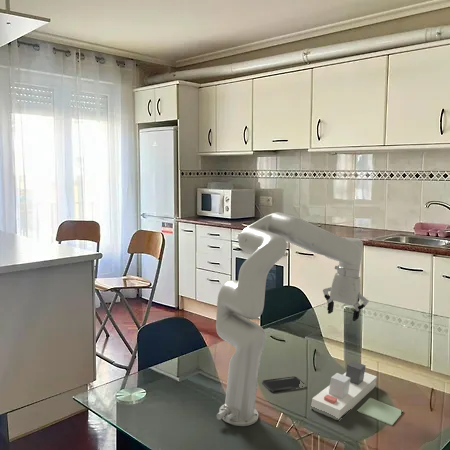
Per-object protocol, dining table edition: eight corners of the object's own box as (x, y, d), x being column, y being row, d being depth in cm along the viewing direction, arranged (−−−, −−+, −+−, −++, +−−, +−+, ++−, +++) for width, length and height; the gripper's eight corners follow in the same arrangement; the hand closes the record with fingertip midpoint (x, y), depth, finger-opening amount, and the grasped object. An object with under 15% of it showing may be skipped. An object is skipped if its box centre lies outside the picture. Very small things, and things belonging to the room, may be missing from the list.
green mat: (391, 425, 164) (392, 424, 164) (357, 411, 171) (357, 410, 171) (403, 412, 174) (403, 410, 174) (369, 398, 181) (370, 397, 181)
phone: (261, 380, 184) (295, 376, 191) (260, 383, 184) (295, 378, 191) (271, 391, 177) (307, 386, 184) (271, 394, 177) (306, 388, 184)
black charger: (357, 389, 182) (360, 369, 180) (344, 384, 184) (347, 364, 183) (362, 385, 186) (365, 365, 184) (349, 380, 188) (352, 360, 187)
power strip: (338, 421, 163) (340, 407, 162) (310, 409, 169) (312, 395, 168) (375, 386, 191) (377, 374, 190) (350, 376, 196) (352, 365, 195)
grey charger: (341, 403, 170) (344, 382, 169) (327, 398, 173) (330, 377, 172) (347, 398, 174) (350, 377, 173) (334, 393, 177) (337, 372, 176)
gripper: (322, 268, 184) (316, 312, 188) (368, 279, 175) (361, 325, 178) (330, 264, 191) (324, 307, 194) (375, 275, 181) (368, 320, 184)
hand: (342, 316), depth 186 cm, fingers open, 9 cm apart
